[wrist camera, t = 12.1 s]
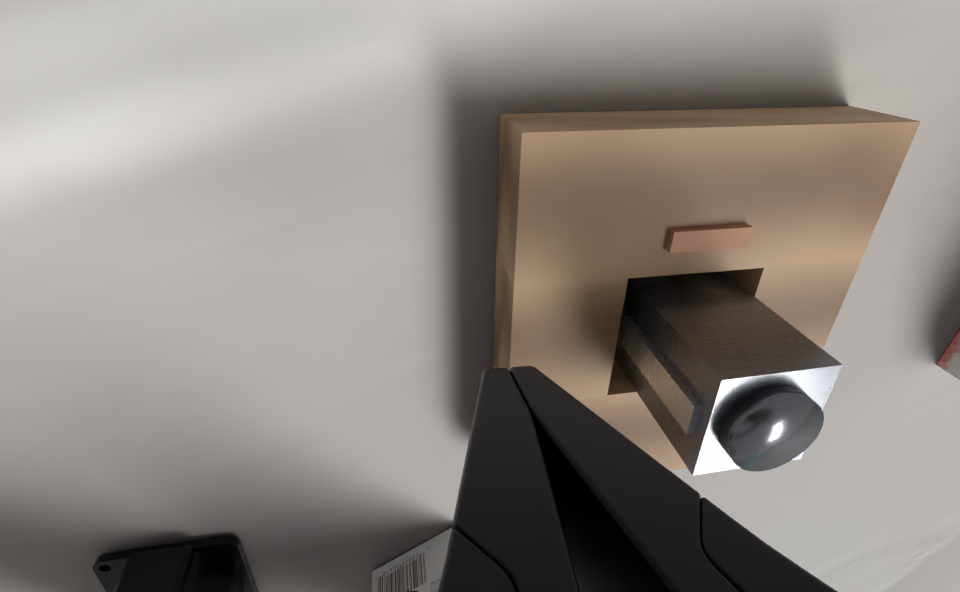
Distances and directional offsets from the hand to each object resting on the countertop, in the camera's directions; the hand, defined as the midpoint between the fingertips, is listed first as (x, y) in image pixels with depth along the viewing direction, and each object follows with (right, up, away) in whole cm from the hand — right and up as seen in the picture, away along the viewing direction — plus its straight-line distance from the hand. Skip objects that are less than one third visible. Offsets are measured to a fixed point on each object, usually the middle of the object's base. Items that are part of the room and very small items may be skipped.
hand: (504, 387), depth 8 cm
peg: (+7, +2, +14) cm, 16 cm away
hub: (+7, +2, +14) cm, 16 cm away
